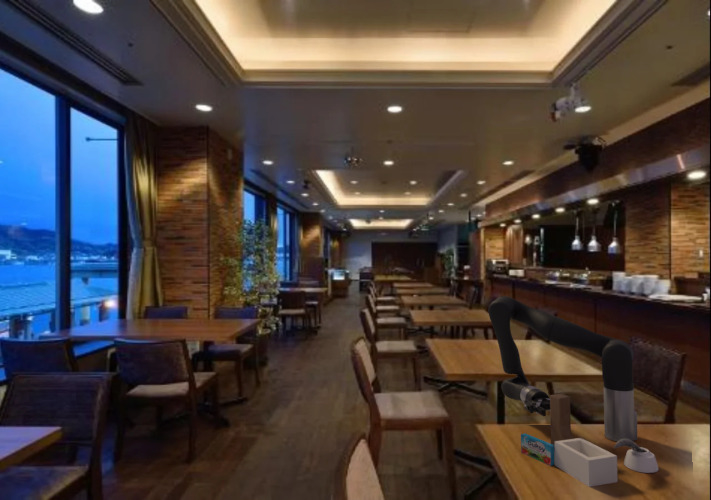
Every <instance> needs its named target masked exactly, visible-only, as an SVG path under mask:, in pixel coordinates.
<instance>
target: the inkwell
mask: <svg viewBox="0 0 711 500" xmlns="http://www.w3.org/2000/svg"><path fill="white" fill-rule="evenodd" d="M623 447H626V448H629V449H628V450H627V451H626V454H625V456H624V460H623V465H624V466H625V467H626V468H628V469H629V470H631V471H634V472H638V473H644V474H652V473H653V474H654V473H657V472H658V471H659V469H660V468H659V465H658V461H657V458H656V455H655V454H654V453H653V452H651V451H650V450H649V449H648V448H645V447H642V446H641V447H640V446H639V445H638V444H637V443H636V442H635V441H632V440H630V439H621V440H619V441H616V443H615V445H614V446H613V449H614V450H615V449H618V448H623Z"/></svg>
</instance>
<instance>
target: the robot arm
mask: <svg viewBox="0 0 711 500" xmlns="http://www.w3.org/2000/svg"><path fill="white" fill-rule="evenodd" d="M487 311H488V317H489V319H490V322H491V325H492V328H493V331H494V334H495V337H496V340H497V344H498V349H499V353H500V357H501V363H502V370H503V372H504V373H505V374H507V375H516V376H515V377H512V378H506V379H504V380H503V381H502V383H501V391H502V393H503V395H504V396H506V397H507V398H508V399H511V400H514V401H520V402H522V403H523V404H524V405H523V407H524V410H526V411H528V412H529V413H530V414H534V413H535V414H539V415H541V416H542V417H547V411H548V412H550V396H549V395H548V394H547V392H544V391H543V390H542V389H540V388H537V387H536V386H533V385H531V384H530V383H529V381H528V378H527V377H526V375H525V372H524V370H523V368H522V363H521V357H520V352H519V348H518V346H517V344H516V342H515V340H514V338H513V334H512V332H511V320H513V321H516V322H519V323H522V324H524V325H526V326H528V327H529V328H531V329H532V330H533V331H534V332H535V333H536V334H537V335H539V336H540V337H541V338H543V339H545V340H548V341H550V342H552V343H554V344H557V345H559V346H564V347H566V348H567V347H568V348H571V349H577V350H582V351H586V352H590V353H591V354H593V355H596V356H598V357H600V358H601V371H602V375H601V376H602V380H603V412H604V413H603V418H604V419H603V420H604V421H603V422H604V423H603V424H604V425H603V426H604V429H603V430H604V431H603V432H604V437H605V438H607V439H609V440H610V441H613V442H614V441H615V442H618V441H619V440H621V439H630V440H632V441H633V442H635V441H637V440H638V413H637V411H636V410H635V397H634V396H635V395H634V394H635V392H634V391H635V390H634V389H635V388H634V386H635V384H634V377H633V375H634V373H633V360H634V356H635V353H634V352H635V351H634V350H633V347H632V346H631V345H630V344H629V343H628V342H626V341H624V340H621V339H617V338H614V337H610V336H607V335H603V334H600V333H598V332H597V333H596V332H594V331H591V330H589V329H587V328H585V327H583V326H581V325H579V324H576V323H574V322H571V321H569V320H567V319H564V318H561V317H559V316H556V315H552V314H550V313H547V312H544V311H542V310H540V309H536V308H534V307H531V306H529V305H526V304H525V303H522V302H521V301H518V300H517V299H515V298H512V297H510V296H507V295H505V296H499V297H497V298H496V299H495V300H493V301H492V302H491V303H490V304H489V306H488V309H487ZM570 414H572V409H571V408H570Z"/></svg>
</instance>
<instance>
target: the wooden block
mask: <svg viewBox="0 0 711 500" xmlns="http://www.w3.org/2000/svg"><path fill="white" fill-rule="evenodd" d="M549 398H550V411H549V412H550V413H549V414H550V418H549V419H550V444H553V445H554V452H555V443H554V441H561V440H569V439H576V438H575V436H574V435H573V433H572V429H571V428H572V425H571V424H572V422H571V420H572V419H571V413H570V409H571V397H570V396H569V395H566V394H563V393H557V394H550V396H549Z"/></svg>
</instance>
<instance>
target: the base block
mask: <svg viewBox="0 0 711 500" xmlns="http://www.w3.org/2000/svg"><path fill="white" fill-rule="evenodd" d="M554 443H555V451H554V453H555V465H554V466H555V467H556V468H559V470H561V471H563V472H565V473H566V474H568V475H570V476H571V477H573V478H574V479H576V480H577V481H578V482H581V483H582V484H584V485H585V486H587V487H589V488H590V487H595V486H601V485H608V484H614V483H618V455H616V454H615V453H612V452H610V451H608V450H607V449H604V448H602V447H600V446H598V445H596V444H594V443H593V442H590V441H588V440H586V439H584V438H582V437H578V438H575V439H569V440H561V441H554Z"/></svg>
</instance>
